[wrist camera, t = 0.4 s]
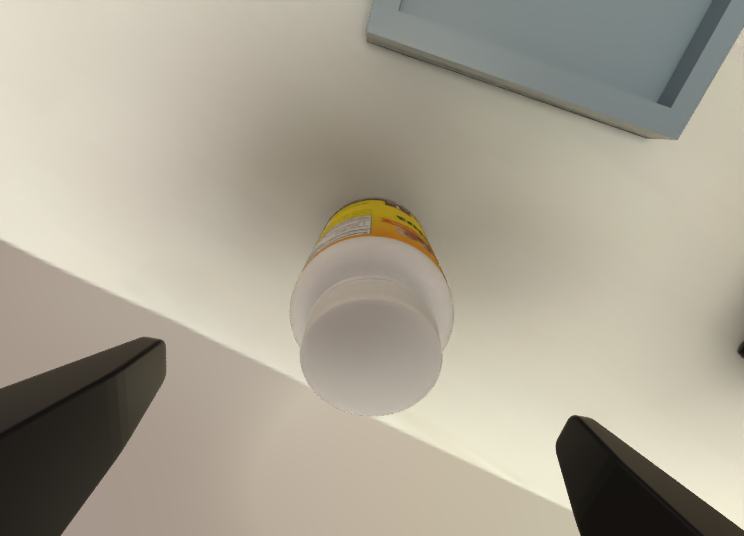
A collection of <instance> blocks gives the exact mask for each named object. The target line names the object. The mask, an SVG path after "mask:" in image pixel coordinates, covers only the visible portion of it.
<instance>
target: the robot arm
mask: <svg viewBox="0 0 744 536" xmlns="http://www.w3.org/2000/svg"><path fill="white" fill-rule="evenodd" d="M740 356H741V357H742V358H744V347H743V348H742V350H741V352H740ZM165 376H166V344H165V342H164V341H163V340H161V339H156V338H151V337H141V338H138V339H135V340H132V341H130V342H127V343H124V344H121V345H119V346H116V347H113V348H110V349H108V350H105V351H102V352H99V353H97V354H94V355H91V356H89V357H86V358H83V359H80V360H78V361H75V362H72V363H69V364H66V365H64V366H61V367H58V368H56V369H53V370H50V371H47V372H45V373H42V374H39V375H36V376H33V377H31V378H28V379H25V380H23V381H20V382H17V383H15V384H12V385H9V386H6V387H4V388H1V389H0V536H61V534H62V533H63V531H64V530H65V529H66V527H67V526H68V525H69V523H70V522H71V521H72V519H73V518H74V516H75V515H76V514H77V512H78V511H79V510H80V508H81V507H82V506H83V504H84V503H85V501H86V500H87V499H88V497H89V496H90V495H91V493H92V492H93V491H94V489H95V488H96V486H97V485H98V484H99V482H100V481H101V480H102V478H103V477H104V475H105V474H106V473H107V471H108V470H109V468H110V467H111V466H112V465H113V463H114V462H115V460H116V459H117V457H118V456H119V455H120V453H121V452H122V450H123V449H124V447H125V445H126V444H127V442H128V441H129V439H130V437H131V436H132V434H133V432H134V430H135V429H136V427H137V426H138V424H139V422H140V420H141V419H142V417H143V415H144V414H145V412H146V410H147V409H148V407H149V405H150V403H151V402H152V400H153V399H154V397H155V395H156V393H157V392H158V390H159V388H160V387H161V385H162V383H163V381H164V379H165ZM556 454H557V458H558V461H559V465H560V468H561V472H562V475H563V479H564V482H565V486H566V489H567V493H568V496H569V500H570V503H571V507H572V510H573V514H574V517H575V520H576V523H577V527H578V529H579V532H580V535H581V536H744V530H742V529H741V528H740V527H738V526H737V525H736V524H734V523H733V522H732V521H730V520H729V519H727V518H726V517H725V516H723V515H722V514H721V513H719V512H718V511H717V510H715V509H714V508H713V507H711V506H710V505H709V504H707V503H706V502H704V501H703V500H702V499H700V498H699V497H698V496H696V495H695V494H694V493H692V492H691V491H690V490H688V489H687V488H686V487H684V486H683V485H682V484H680V483H679V482H677V481H676V480H675V479H673V478H672V477H671V476H669V475H668V474H667V473H665V472H664V471H663V470H661V469H660V468H659V467H657V466H656V465H654V464H653V463H652V462H650V461H649V460H648V459H646V458H645V457H644V456H642V455H641V454H640V453H638V452H637V451H636V450H634V449H633V448H631V447H630V446H629V445H627V444H626V443H625V442H623V441H622V440H621V439H619V438H618V437H617V436H615V435H614V434H613V433H611V432H610V431H608V430H607V429H606V428H604V427H603V426H602V425H600V424H599V423H598V422H596V421H595V420H593V419H591V418H588V417H583V416H578V415H573V416H571V417H570V418H569V419H568V420H567V422H566V424H565V426H564V428H563V430H562V431H561V433H560V435H559V437H558V439H557V441H556Z"/></svg>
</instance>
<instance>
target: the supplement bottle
mask: <svg viewBox="0 0 744 536" xmlns="http://www.w3.org/2000/svg"><path fill="white" fill-rule="evenodd" d="M453 319H454V308H453V301H452V296H451V292H450V289H449V286H448V283H447V281H446V278H445V276H444V274H443V272H442V270H441V268H440V266H439V263H438V261H437V259H436V257H435V255H434V253H433V251H432V249H431V246H430V244H429V242H428V240H427V238H426V236H425V234H424V231H423V229H422V227H421V226H420V224H419V222H418V221H417V220H416V218H415V217H414V216H413V215H412V214H411V213H410V212H409V211H408V210H407V209H405V208H404V207H402V206H401V205H399V204H397V203H395V202H393V201H390V200H386V199H381V198H365V199H360V200H357V201H354V202H351V203H349V204H347V205H346V206H344V207H342V208H341V209H340V210H339V211H337V212H336V213H335V214H334V215H333V216H332V218H331V219H330V220H329V222H328V223H327V225H326V227H325V229H324V231H323V232H322V234H321V236H320V238H319V240H318V242H317V244H316V246H315V248H314V249H313V251H312V253H311V255H310V257H309V259H308V261H307V263H306V265H305V266H304V268H303V270H302V272H301V274H300V276H299V278H298V280H297V282H296V285H295V288H294V291H293V294H292V298H291V304H290V321H291V326H292V330H293V334H294V337H295V339H296V341H297V343H298V345H299V347H300V363H301V368H302V371H303V374H304V376H305V378H306V381H307V382H308V384H309V385H310V387H311V388H312V389H313V391H314V392H315V393H316V394H317V395H318V396H319V397H320V398H321V399H322V400H324V401H325V402H327V403H328V404H330V405H331V406H333V407H335V408H337V409H339V410H342V411H344V412H347V413H350V414H356V415H360V416H383V415H389V414H393V413H396V412H400V411H402V410H405V409H407V408H409V407H411V406H412V405H414V404H416V403H417V402H418V401H420V400H421V399H422V398H423V397H425V396H426V395H427V393H428V392H429V391H430V390H431V388H432V387H433V386H434V384H435V382H436V381H437V379H438V376H439V374H440V370H441V365H442V351H443V349H444V347H445V346H446V344H447V342H448V340H449V337H450V334H451V330H452V326H453Z"/></svg>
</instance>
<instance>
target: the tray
mask: <svg viewBox="0 0 744 536" xmlns="http://www.w3.org/2000/svg"><path fill="white" fill-rule="evenodd" d="M743 27H744V0H374V1H373V5H372V9H371V13H370V17H369V21H368V25H367V29H366V35H367V41H368V42H371V43H374V44H376V45H379V46H382V47H385V48H388V49H391V50H394V51H397V52H400V53H402V54H405V55H408V56H411V57H414V58H417V59H420V60H423V61H426V62H428V63H431V64H434V65H437V66H440V67H443V68H446V69H449V70H452V71H454V72H457V73H460V74H463V75H466V76H469V77H472V78H475V79H478V80H480V81H483V82H486V83H489V84H492V85H495V86H498V87H501V88H504V89H507V90H509V91H512V92H515V93H518V94H521V95H524V96H527V97H530V98H533V99H535V100H538V101H541V102H544V103H547V104H550V105H553V106H556V107H559V108H561V109H564V110H567V111H570V112H573V113H576V114H579V115H582V116H585V117H587V118H590V119H593V120H596V121H599V122H602V123H605V124H608V125H611V126H614V127H616V128H619V129H622V130H625V131H628V132H631V133H634V134H637V135H640V136H642V137H645V138H650V139H671V140H678V138H679V137H680V135H681V133H682V131H683V130H684V128H685V126H686V125H687V123H688V121H689V120H690V118H691V116H692V114H693V113H694V111H695V109H696V108H697V106H698V104H699V102H700V101H701V99H702V97H703V96H704V94H705V92H706V90H707V89H708V87H709V85H710V84H711V82H712V80H713V78H714V77H715V75H716V73H717V72H718V70H719V68H720V67H721V65H722V63H723V61H724V60H725V58H726V56H727V55H728V53H729V51H730V49H731V48H732V46H733V44H734V43H735V41H736V39H737V37H738V36H739V34H740V32H741V31H742V29H743Z"/></svg>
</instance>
